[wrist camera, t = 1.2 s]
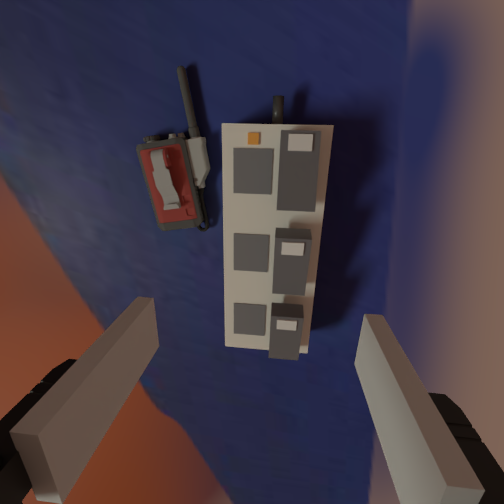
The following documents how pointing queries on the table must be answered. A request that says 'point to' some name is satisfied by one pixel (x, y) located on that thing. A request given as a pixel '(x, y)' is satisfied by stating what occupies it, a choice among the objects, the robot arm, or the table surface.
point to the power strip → (262, 227)
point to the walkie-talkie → (177, 171)
